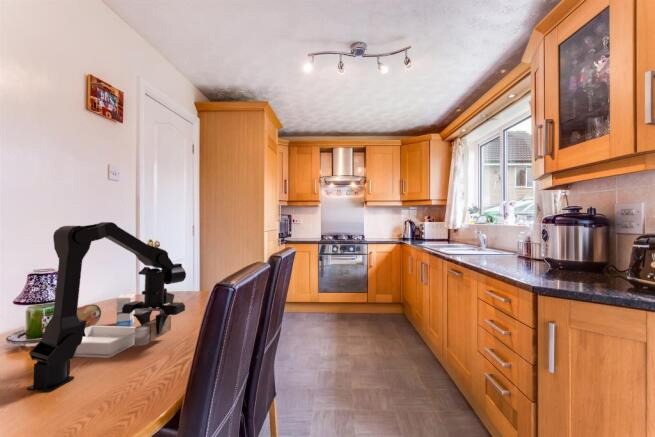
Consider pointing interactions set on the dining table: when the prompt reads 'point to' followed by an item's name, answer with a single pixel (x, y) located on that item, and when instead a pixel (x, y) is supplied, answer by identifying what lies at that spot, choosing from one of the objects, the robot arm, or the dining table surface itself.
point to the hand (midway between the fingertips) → (153, 333)
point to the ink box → (122, 318)
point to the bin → (105, 341)
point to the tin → (89, 314)
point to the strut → (150, 331)
